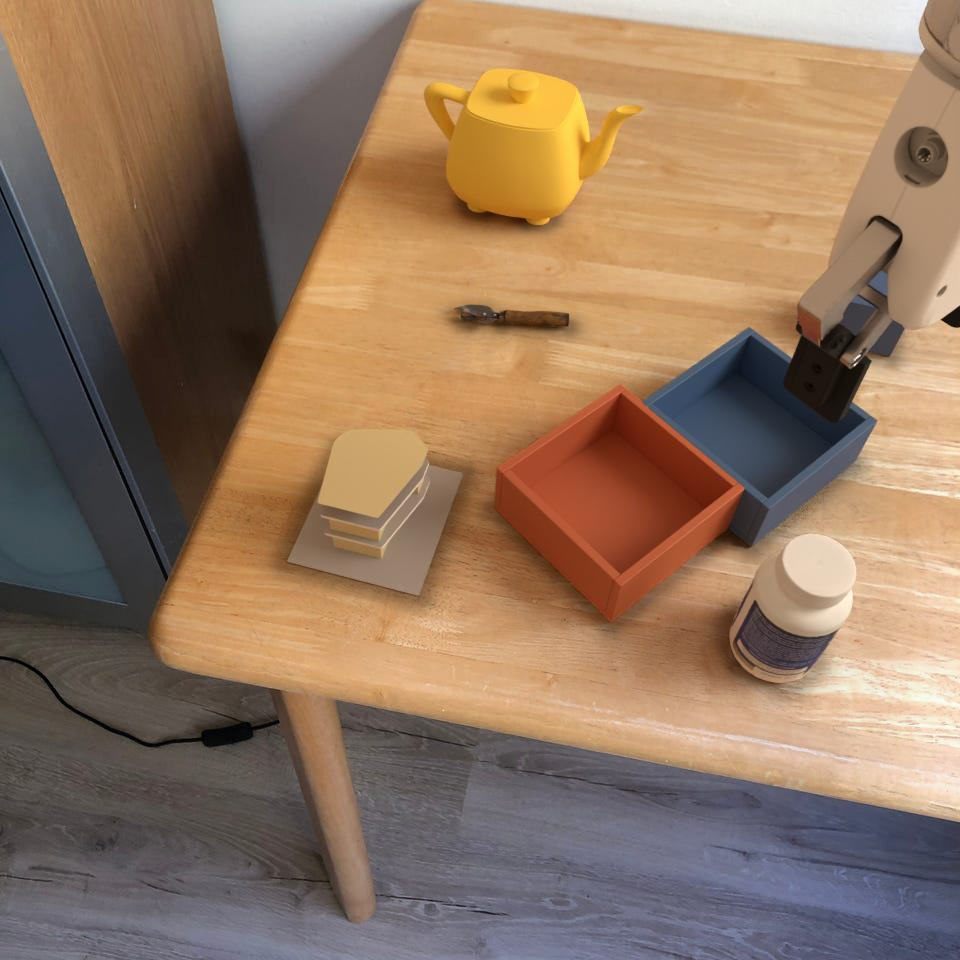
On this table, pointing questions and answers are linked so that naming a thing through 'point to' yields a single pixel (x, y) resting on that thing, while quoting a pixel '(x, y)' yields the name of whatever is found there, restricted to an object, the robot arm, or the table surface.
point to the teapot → (521, 142)
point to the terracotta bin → (615, 500)
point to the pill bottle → (793, 608)
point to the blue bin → (759, 430)
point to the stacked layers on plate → (378, 510)
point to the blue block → (862, 312)
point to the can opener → (515, 316)
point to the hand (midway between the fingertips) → (875, 355)
